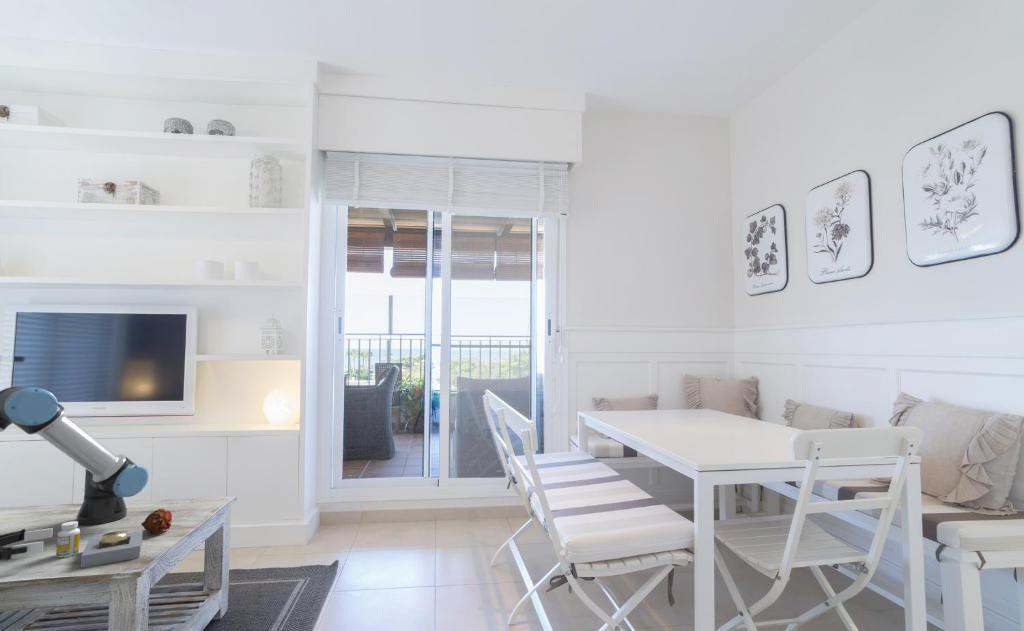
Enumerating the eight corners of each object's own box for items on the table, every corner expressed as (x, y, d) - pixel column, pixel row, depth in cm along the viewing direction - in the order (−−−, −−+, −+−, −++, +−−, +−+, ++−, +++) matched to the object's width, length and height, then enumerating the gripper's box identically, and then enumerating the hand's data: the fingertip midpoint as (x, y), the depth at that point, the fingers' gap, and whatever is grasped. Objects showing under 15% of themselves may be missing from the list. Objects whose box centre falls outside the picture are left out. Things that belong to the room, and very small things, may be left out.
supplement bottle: (74, 550, 162) (76, 519, 162) (81, 553, 159) (83, 522, 160) (53, 555, 157) (55, 524, 158) (59, 559, 154) (62, 527, 155)
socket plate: (88, 550, 162) (89, 539, 162) (141, 541, 169) (142, 530, 170) (80, 567, 148) (81, 555, 149) (139, 557, 156) (140, 546, 156)
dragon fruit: (157, 541, 174) (151, 537, 182) (181, 522, 179) (174, 519, 188) (141, 524, 171) (135, 521, 180) (165, 505, 177) (159, 502, 185)
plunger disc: (102, 541, 160) (103, 533, 160) (127, 537, 164) (128, 529, 164) (100, 547, 155) (100, 539, 155) (125, 543, 158) (126, 535, 159)
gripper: (-38, 552, 154) (54, 539, 165) (-71, 583, 133) (37, 565, 145) (-35, 527, 154) (56, 515, 166) (-68, 554, 134) (39, 539, 145)
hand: (47, 539), depth 155 cm, fingers open, 13 cm apart
